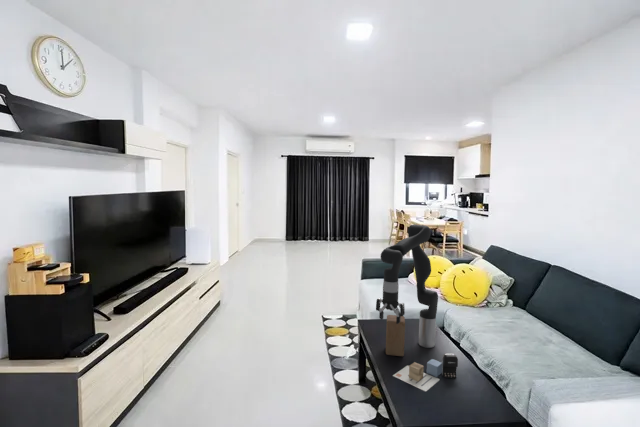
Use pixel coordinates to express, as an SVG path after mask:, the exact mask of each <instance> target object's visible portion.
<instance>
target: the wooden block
mask: <svg viewBox="0 0 640 427" xmlns="http://www.w3.org/2000/svg"><path fill="white" fill-rule="evenodd" d="M396 318H397V315H396V314H387V315H386V333H385V355H388V356H397V357H404V356H405V335H406V318H405V315H403V316H401V320H400V323H399V324H396Z"/></svg>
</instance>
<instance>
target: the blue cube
mask: <svg viewBox="0 0 640 427" xmlns="http://www.w3.org/2000/svg"><path fill="white" fill-rule="evenodd" d="M426 374H428V375H431V376H433V377H435V378H438V377H440V376H441V375H442V361H438V360H436V359H433V358H431V359H430V360H428V361H427V362H426Z"/></svg>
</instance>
